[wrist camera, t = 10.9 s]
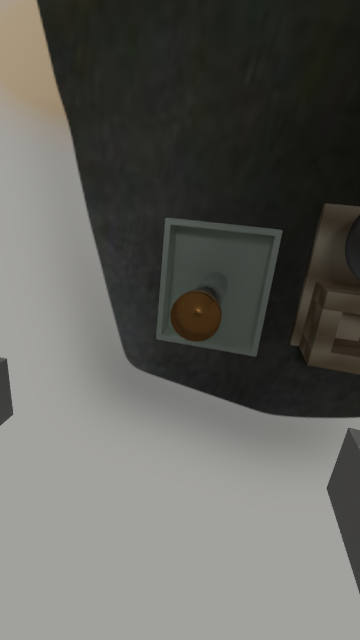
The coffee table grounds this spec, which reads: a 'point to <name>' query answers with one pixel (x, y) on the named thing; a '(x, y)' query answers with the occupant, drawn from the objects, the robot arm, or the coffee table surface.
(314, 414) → the coffee table surface
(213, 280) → the lock pin
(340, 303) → the block
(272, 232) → the tray
